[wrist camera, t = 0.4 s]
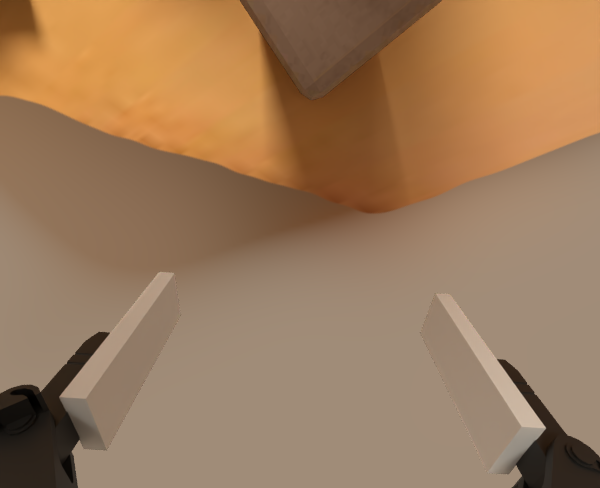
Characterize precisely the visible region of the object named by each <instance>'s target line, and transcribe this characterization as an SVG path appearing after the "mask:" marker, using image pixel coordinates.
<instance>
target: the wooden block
mask: <svg viewBox="0 0 600 488" xmlns="http://www.w3.org/2000/svg"><path fill="white" fill-rule="evenodd" d="M240 2H241V3H242V5H243V6H244V8H245V9H246V11H247V12H248V14H249V15H250V17H251V18H252V20H253V21H254V23H255V24H256V26H257V27H258V29H259V30H260V32H261V33H262V35H263V37H264V38H265V40H266V41H267V43H268V44H269V46H270V47H271V49H272V50H273V52H274V53H275V55H276V56H277V58H278V59H279V61H280V62H281V64H282V65H283V67H284V68H285V70H286V71H287V73H288V75H289V76H290V78H291V79H292V81H293V82H294V84H295V85H296V87H297V88H298V90H299V91H300V93H301V94H303V95H304V96H306V97H307V98H308V99H310V100H314V99H318V98H321V97H324V96H325V95H326V94H327V93H329V92H330V91H331V90H332V89H333V88H335V87H336V86H337V85H338V84H340V83H341V82H342V81H343V80H345V79H346V78H347V77H348V76H350V75H351V74H352V73H353V72H354V71H356V70H357V69H358V68H359V67H361V66H362V65H363V64H364V63H366V62H367V61H368V60H369V59H371V58H372V57H373V56H374V55H375V54H377V53H378V52H379V51H380V50H382V49H383V48H384V47H385V46H387V45H388V44H389V43H390V42H391V41H393V40H394V39H395V38H396V37H398V36H399V35H400V34H401V33H403V32H404V31H405V30H406V29H408V28H409V27H410V26H411V25H412V24H414V23H415V22H416V21H417V20H419V19H420V18H421V17H422V16H424V15H425V14H426V13H427V12H429V11H430V10H431V9H432V8H433V7H435V6H436V5H437V4H438V3H440V2H441V0H240Z"/></svg>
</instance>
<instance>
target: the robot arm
mask: <svg viewBox="0 0 600 488" xmlns="http://www.w3.org/2000/svg"><path fill="white" fill-rule="evenodd" d="M180 316H181V314H180V307H179V300H178V294H177V286H176V278H175V273H165V272H159V273H158V274H157V275H156V277H155V278H154V279H153V280H152V282H151V283H150V284H149V285H148V287H147V288H146V289H145V290H144V292H143V293H142V294H141V295H140V297H139V298H138V299H137V300H136V302H135V303H134V304H133V305H132V307H131V308H130V309H129V310H128V312H127V313H126V314H125V315H124V317H123V318H122V319H121V320H120V322H119V323H118V324H117V325H116V327H115V328H114V329H113V330H112V332H111V333H107V332H98V333H97V334H95V335H94V336H92V337H91V338H89V339H88V340H86V341H85V342H84V343H83V344H82V346H81V347H80V348H79V349H78V350H77V351H76V353H75V355H73V356H72V357H71V358H70V360H68V362H67V364H65V365H64V366H63V367H62V368H61V370H60V371H59V372H58V373H57V374H56V375H55V376H54V378H53V379H52V380H51V381H50V382H49V383H48V385H47V386H46V387H45V388H44V389H43V390H42V391H41V392H40V390H39V388H38V387H36V386H33V385H21V386H17V387H13V388H11V389H8V390H6V391H4V392H3V393H1V394H0V488H78V486H77V478H76V471H75V464H74V456H73V454H72V450H73V448H74V447H75V445H76V444H77V442H78V441H79V440H80V441H81V444H82V446H83V448H84V449H93V450H107V449H108V448H109V445H110V444H111V442H112V440H113V438H114V436H115V435H116V433H117V431H118V429H119V427H120V426H121V424H122V422H123V420H124V418H125V417H126V415H127V413H128V411H129V409H130V407H131V406H132V404H133V402H134V400H135V398H136V396H137V395H138V393H139V391H140V389H141V387H142V386H143V383H144V382H145V380H146V378H147V376H148V374H149V372H150V371H151V369H152V367H153V365H154V364H155V362H156V360H157V358H158V356H159V355H160V353H161V351H162V349H163V347H164V345H165V343H166V342H167V340H168V338H169V336H170V334H171V333H172V331H173V329H174V327H175V325H176V324H177V322H178V320H179V318H180ZM420 333H421V336H422V338H423V340H424V342H425V344H426V346H427V348H428V350H429V352H430V354H431V357H432V359H433V361H434V363H435V365H436V367H437V369H438V371H439V373H440V375H441V378H442V380H443V382H444V384H445V386H446V388H447V390H448V392H449V394H450V396H451V398H452V400H453V403H454V405H455V407H456V409H457V411H458V413H459V415H460V417H461V419H462V421H463V424H464V425H465V428H466V430H467V432H468V434H469V436H470V438H471V440H472V442H473V444H474V447H475V449H476V451H477V452H478V455H479V457H480V459H481V461H482V463H483V465H484V467H485V470H486V472H487V473H497V474H509V473H510V472H511V471H512V469H513V468H514V467H515V466H516V465H517V467H518V469H519V471H520V473H521V474H522V477H521V478H520V479H519V480H518V481H517V483H516V484H515V485H514V486H513V487H512V488H600V457H599V456H598V455H597V454H596V453H595V452H594V451H593V450H592V449H591V448H590V447H588V446H587V445H586V444H584V443H583V442H581V441H579V440H577V439H575V438H573V437H571V436H567V434H566V433H565V432H564V431H563V429H562V428H561V427H560V426H559V424H558V423H557V422H556V420H555V419H554V418H553V416H552V415H551V414H550V412H549V411H548V410H547V408H546V407H545V406H544V404H543V403H542V402H541V400H540V399H539V398H538V397H537V395H535V394H534V391H533V390H532V389H531V388H530V386H529V385H527V382H526V381H525V379H524V378H523V377H522V376H521V374H520V373H519V372H518V370H516V369H515V368H514V367H513V366H512V365H511V364H509V363H508V362H507V361H506V360H499V359H496V358H495V356H494V355H493V354H492V352H491V351H490V349H489V348H488V347H487V345H486V344H485V342H484V341H483V340H482V338H481V337H480V335H479V334H478V333H477V331H476V330H475V328H474V327H473V326H472V324H471V323H470V321H469V320H468V319H467V317H466V316H465V314H464V313H463V312H462V310H461V309H460V307H459V306H458V305H457V303H456V302H455V300H454V299H453V298H452V296H451V295H450V294H441V293H435V295H434V298H433V301H432V303H431V306H430V308H429V311H428V314H427V316H426V320H425V322H424V325H423V327H422V330H421V332H420Z"/></svg>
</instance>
